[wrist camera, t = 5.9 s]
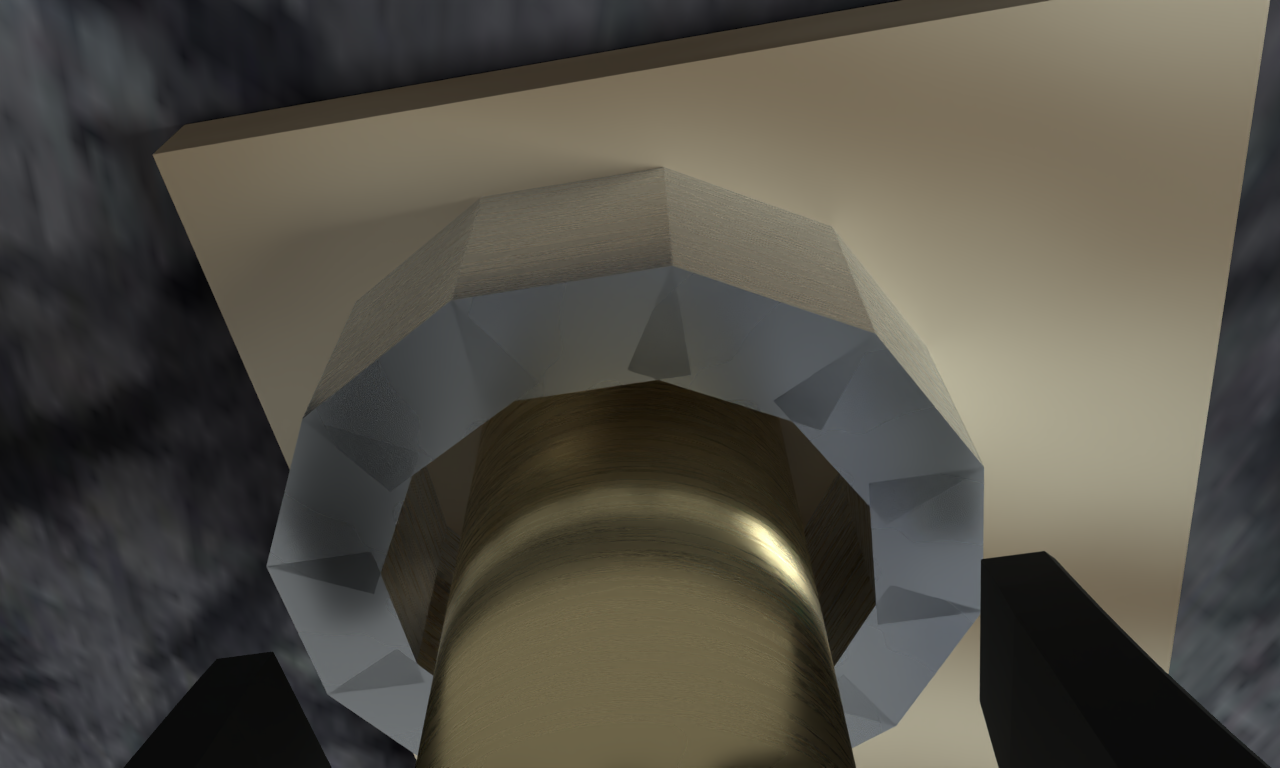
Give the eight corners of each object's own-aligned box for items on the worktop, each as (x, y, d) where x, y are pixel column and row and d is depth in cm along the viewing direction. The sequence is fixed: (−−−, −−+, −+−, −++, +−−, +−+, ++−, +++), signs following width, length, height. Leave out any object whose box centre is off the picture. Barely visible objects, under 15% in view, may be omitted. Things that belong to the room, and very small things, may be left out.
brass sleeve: (797, 547, 15) (889, 986, 10) (520, 587, 15) (469, 1031, 10) (764, 300, 13) (859, 696, 8) (443, 353, 13) (327, 766, 8)
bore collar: (932, 627, 16) (980, 769, 14) (426, 691, 16) (396, 837, 14) (920, 124, 12) (988, 216, 9) (241, 236, 12) (160, 345, 10)
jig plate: (1115, 827, 20) (1137, 877, 19) (501, 895, 21) (497, 945, 20) (1227, -56, 11) (1275, -39, 11) (184, 124, 12) (152, 153, 12)
